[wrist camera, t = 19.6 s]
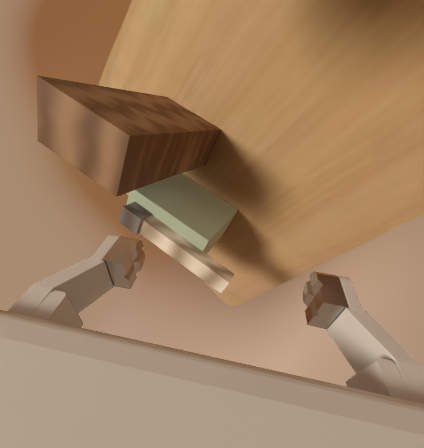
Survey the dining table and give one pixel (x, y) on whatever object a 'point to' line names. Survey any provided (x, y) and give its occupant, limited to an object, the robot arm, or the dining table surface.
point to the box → (186, 209)
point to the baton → (175, 245)
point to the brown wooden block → (120, 133)
